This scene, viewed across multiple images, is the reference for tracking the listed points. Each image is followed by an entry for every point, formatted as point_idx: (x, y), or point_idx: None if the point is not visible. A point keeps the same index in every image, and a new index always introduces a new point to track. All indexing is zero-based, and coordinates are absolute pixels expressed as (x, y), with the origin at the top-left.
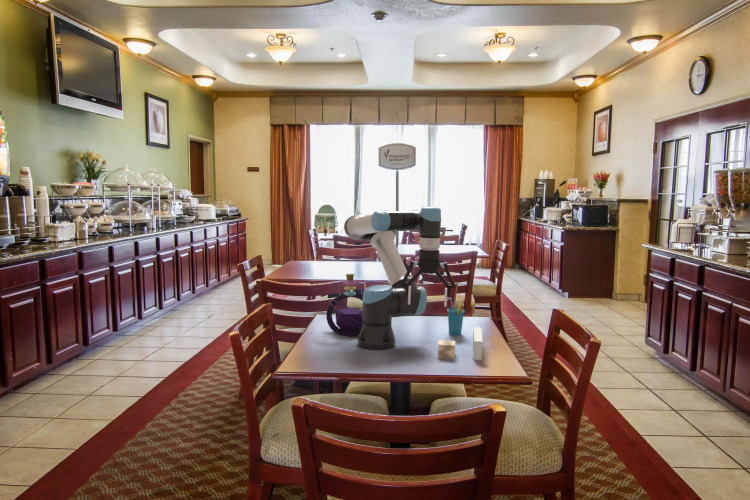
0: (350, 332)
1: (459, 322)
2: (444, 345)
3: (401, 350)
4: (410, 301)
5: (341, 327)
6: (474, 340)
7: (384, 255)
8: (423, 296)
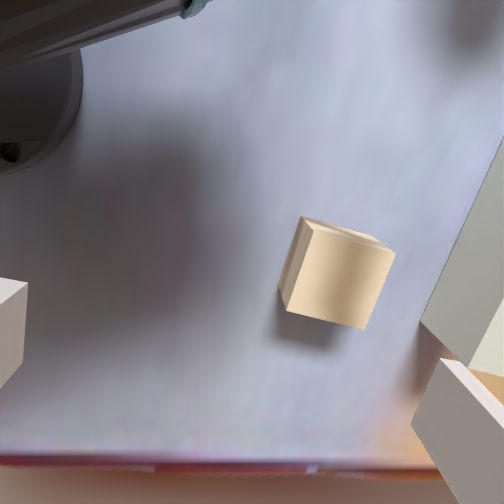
0: None
1: None
2: (315, 315)
3: (114, 183)
4: (52, 20)
5: None
6: (474, 356)
7: None
8: None
